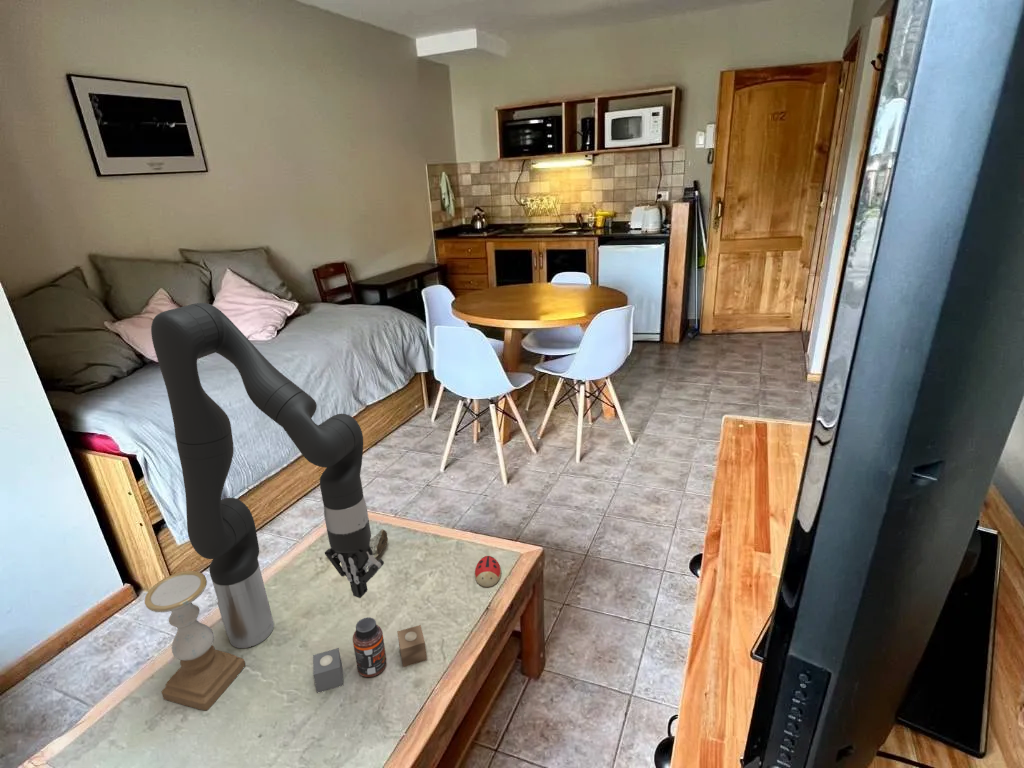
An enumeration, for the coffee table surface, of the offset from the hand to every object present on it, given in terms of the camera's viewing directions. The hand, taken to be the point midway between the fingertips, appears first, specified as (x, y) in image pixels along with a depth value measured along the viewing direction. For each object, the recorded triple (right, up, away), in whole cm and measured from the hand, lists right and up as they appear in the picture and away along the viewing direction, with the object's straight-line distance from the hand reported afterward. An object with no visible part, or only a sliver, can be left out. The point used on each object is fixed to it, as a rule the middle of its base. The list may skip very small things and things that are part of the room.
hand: (360, 594), depth 106 cm
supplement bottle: (+1, -18, +7) cm, 19 cm away
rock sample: (-8, -5, +40) cm, 41 cm away
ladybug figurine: (+24, -8, +32) cm, 40 cm away
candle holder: (-33, -20, +5) cm, 39 cm away
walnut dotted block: (+9, -17, +9) cm, 21 cm away
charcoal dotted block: (-7, -19, +4) cm, 21 cm away
